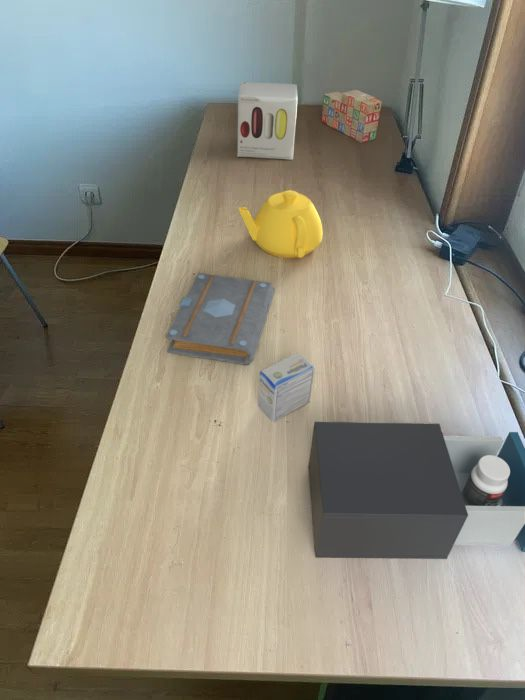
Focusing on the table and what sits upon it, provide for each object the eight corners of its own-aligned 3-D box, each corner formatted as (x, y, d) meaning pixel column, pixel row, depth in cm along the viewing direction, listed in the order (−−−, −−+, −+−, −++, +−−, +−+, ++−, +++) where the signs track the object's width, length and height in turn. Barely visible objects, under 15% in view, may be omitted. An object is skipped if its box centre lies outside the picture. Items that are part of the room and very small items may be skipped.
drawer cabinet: (422, 468, 86) (439, 423, 79) (446, 559, 75) (468, 515, 68) (308, 467, 85) (314, 421, 78) (315, 557, 75) (323, 513, 68)
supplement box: (236, 158, 170) (236, 95, 158) (239, 141, 180) (239, 80, 168) (293, 160, 170) (298, 98, 158) (293, 143, 180) (297, 83, 168)
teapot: (308, 222, 142) (313, 173, 133) (334, 262, 128) (341, 211, 120) (231, 230, 138) (230, 181, 129) (249, 273, 124) (250, 221, 116)
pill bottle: (482, 524, 77) (501, 489, 71) (452, 502, 79) (469, 466, 74) (500, 504, 79) (520, 468, 74) (471, 483, 82) (488, 447, 76)
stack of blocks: (320, 122, 194) (324, 84, 186) (334, 119, 197) (338, 81, 189) (361, 143, 181) (367, 103, 173) (376, 139, 184) (382, 100, 176)
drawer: (536, 470, 85) (558, 432, 79) (573, 552, 75) (601, 516, 69) (390, 468, 85) (401, 430, 79) (407, 551, 75) (422, 514, 69)
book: (253, 367, 102) (253, 346, 98) (165, 353, 104) (163, 332, 100) (274, 299, 117) (275, 279, 114) (197, 288, 119) (196, 269, 116)
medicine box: (294, 387, 98) (297, 350, 92) (310, 403, 95) (315, 366, 90) (257, 407, 94) (258, 369, 89) (273, 423, 92) (276, 386, 86)
